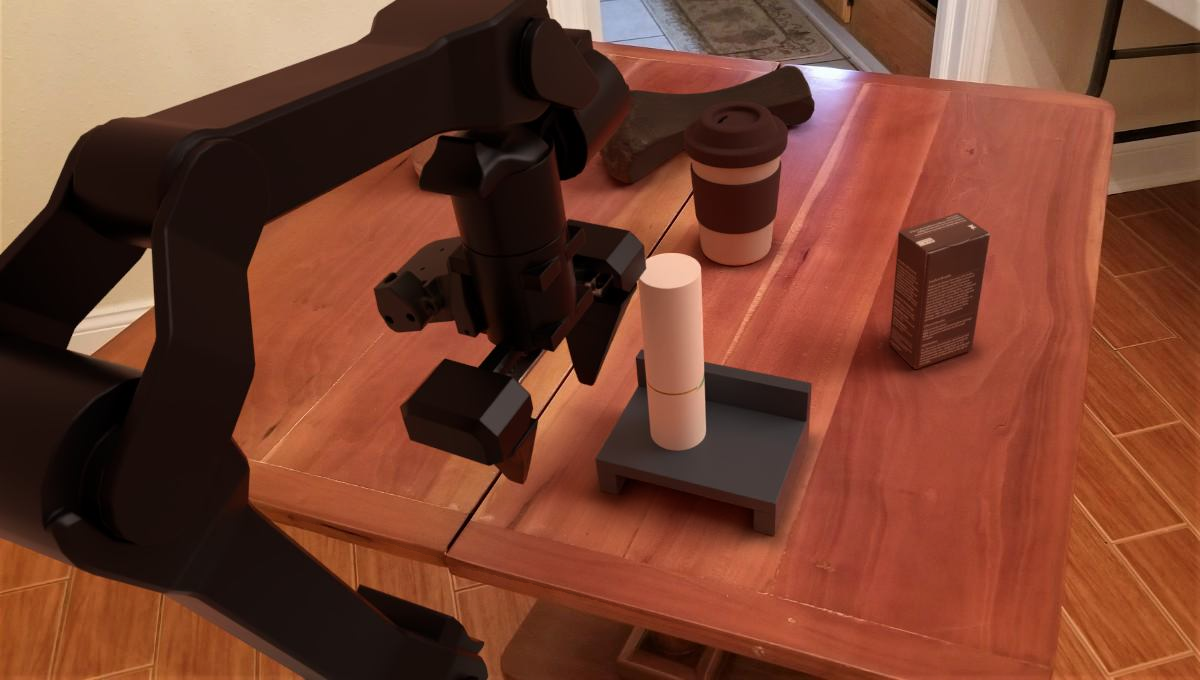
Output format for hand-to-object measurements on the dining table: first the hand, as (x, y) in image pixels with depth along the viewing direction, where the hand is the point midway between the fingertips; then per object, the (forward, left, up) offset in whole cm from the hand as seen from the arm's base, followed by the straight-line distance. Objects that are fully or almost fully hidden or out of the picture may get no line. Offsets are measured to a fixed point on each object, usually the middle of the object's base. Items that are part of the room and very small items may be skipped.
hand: (554, 429), depth 60 cm
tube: (+12, -4, -10) cm, 16 cm away
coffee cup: (+43, +1, -13) cm, 45 cm away
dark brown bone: (+64, +12, -13) cm, 66 cm away
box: (+32, -20, -13) cm, 40 cm away
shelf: (+12, -6, -13) cm, 19 cm away
